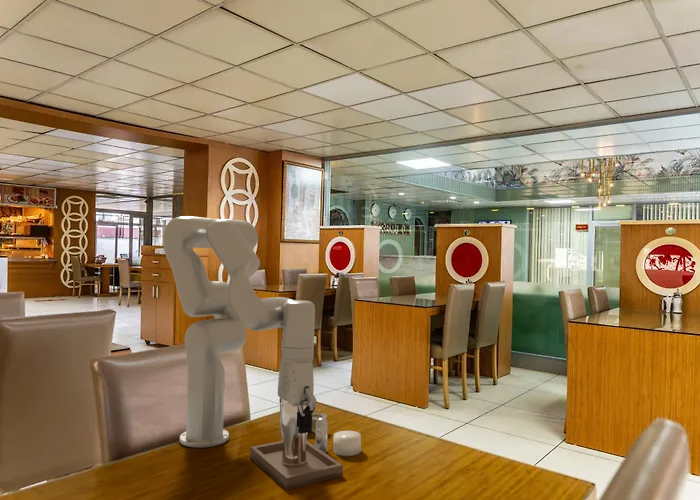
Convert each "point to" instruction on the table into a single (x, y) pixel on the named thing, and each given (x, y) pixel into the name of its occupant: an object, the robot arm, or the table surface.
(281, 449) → the tray
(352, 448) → the white rounded cylinder
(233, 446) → the table surface
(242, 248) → the robot arm
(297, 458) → the silver metal tumbler
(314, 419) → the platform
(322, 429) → the salt shaker
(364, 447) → the table surface
